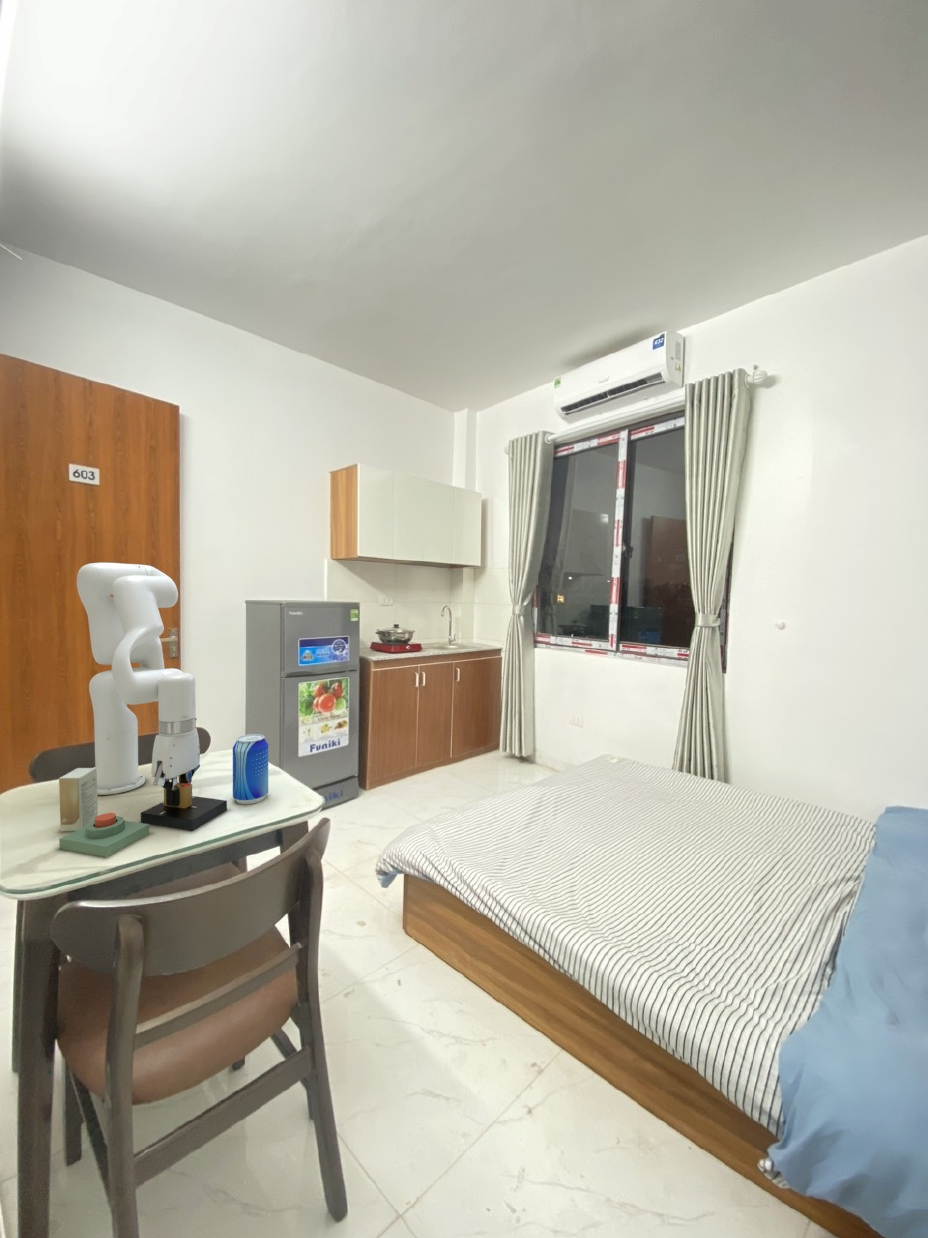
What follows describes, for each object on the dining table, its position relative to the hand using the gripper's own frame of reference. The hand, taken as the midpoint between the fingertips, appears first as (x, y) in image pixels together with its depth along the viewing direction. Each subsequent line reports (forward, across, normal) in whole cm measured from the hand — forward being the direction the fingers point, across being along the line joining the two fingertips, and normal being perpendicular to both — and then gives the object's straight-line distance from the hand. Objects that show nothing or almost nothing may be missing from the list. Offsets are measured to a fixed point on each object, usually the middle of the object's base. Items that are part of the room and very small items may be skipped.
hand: (178, 802), depth 117 cm
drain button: (0, +14, -5) cm, 15 cm away
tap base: (+3, 0, +2) cm, 4 cm away
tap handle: (+1, 0, 0) cm, 1 cm away
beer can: (+3, -13, +10) cm, 17 cm away
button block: (+3, +14, -5) cm, 15 cm away
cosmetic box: (+3, +10, -17) cm, 20 cm away
